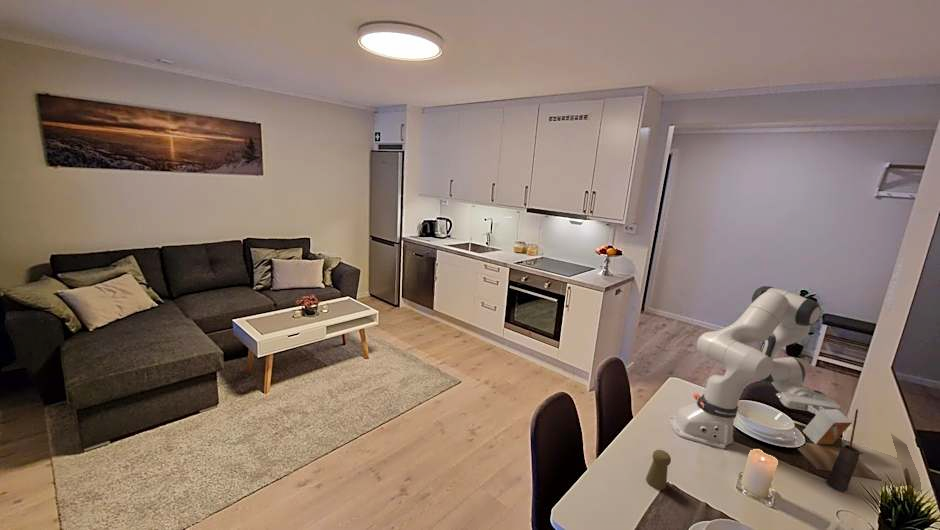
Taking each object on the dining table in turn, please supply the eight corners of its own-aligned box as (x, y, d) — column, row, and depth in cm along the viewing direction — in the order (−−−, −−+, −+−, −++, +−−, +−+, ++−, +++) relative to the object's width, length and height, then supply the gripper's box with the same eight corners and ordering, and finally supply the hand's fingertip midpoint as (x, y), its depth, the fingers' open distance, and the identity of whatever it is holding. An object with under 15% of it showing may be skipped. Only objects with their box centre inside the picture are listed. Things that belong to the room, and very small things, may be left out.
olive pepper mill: (667, 492, 124) (674, 462, 121) (646, 485, 126) (653, 456, 123) (665, 479, 130) (672, 450, 127) (645, 472, 131) (651, 444, 129)
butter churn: (867, 499, 128) (896, 423, 122) (843, 500, 127) (871, 424, 120) (838, 477, 137) (864, 405, 130) (815, 478, 136) (839, 406, 129)
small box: (815, 445, 154) (834, 422, 148) (802, 431, 159) (819, 408, 153) (833, 444, 155) (853, 422, 149) (819, 430, 161) (837, 408, 154)
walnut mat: (816, 469, 140) (817, 468, 140) (790, 441, 155) (790, 440, 155) (880, 480, 137) (881, 479, 137) (847, 450, 152) (847, 449, 152)
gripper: (775, 385, 170) (795, 403, 157) (828, 393, 167) (853, 411, 154) (771, 398, 172) (791, 417, 158) (824, 406, 169) (848, 426, 156)
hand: (822, 414), depth 156 cm, fingers closed
